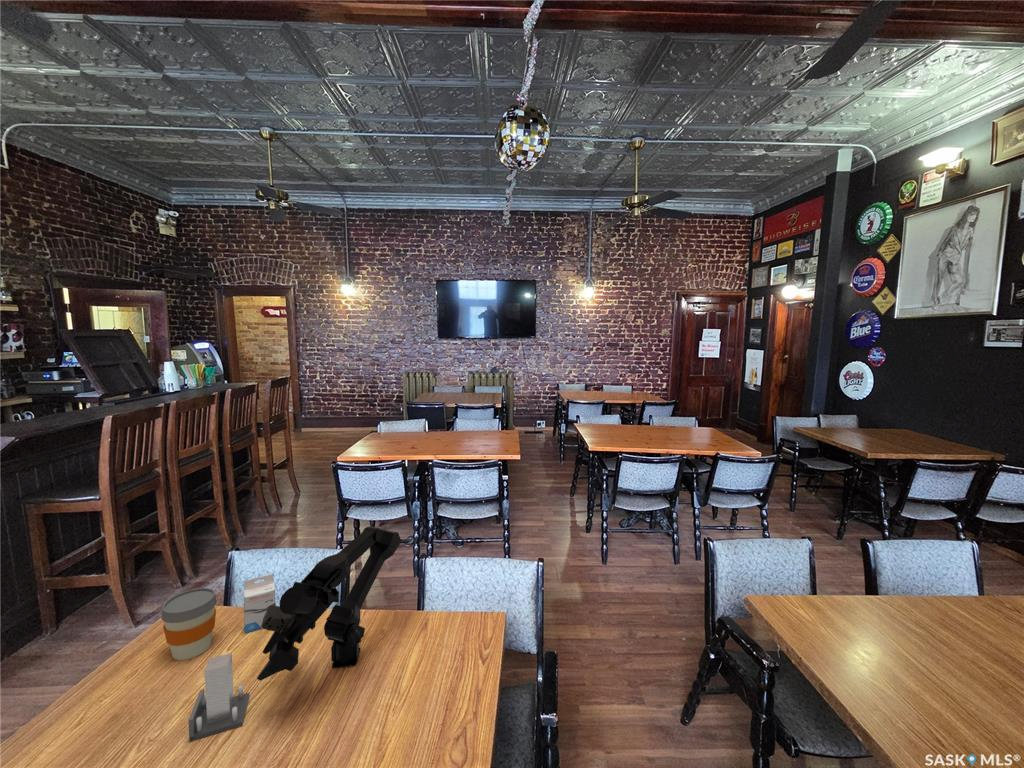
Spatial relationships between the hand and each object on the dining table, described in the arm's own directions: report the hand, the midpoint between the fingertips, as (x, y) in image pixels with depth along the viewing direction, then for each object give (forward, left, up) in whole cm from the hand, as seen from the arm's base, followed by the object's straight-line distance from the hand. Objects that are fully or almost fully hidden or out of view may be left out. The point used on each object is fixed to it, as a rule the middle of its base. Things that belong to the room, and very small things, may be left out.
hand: (261, 665), depth 102 cm
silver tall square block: (+8, +3, -8) cm, 12 cm away
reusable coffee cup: (+28, -23, -10) cm, 37 cm away
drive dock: (+8, +3, -9) cm, 13 cm away
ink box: (+13, -31, -10) cm, 35 cm away
